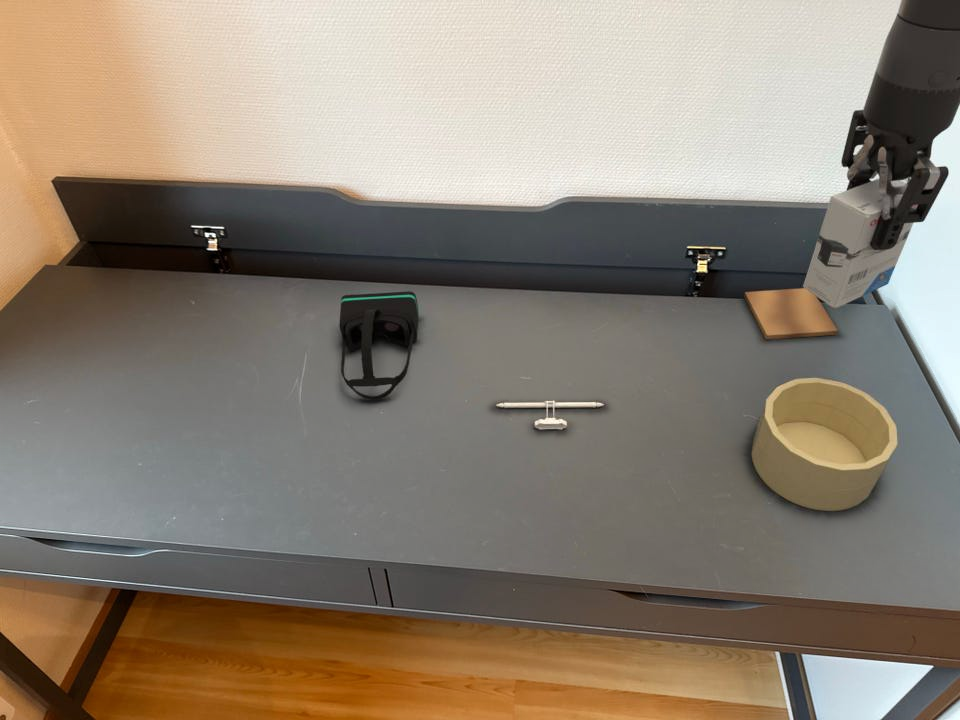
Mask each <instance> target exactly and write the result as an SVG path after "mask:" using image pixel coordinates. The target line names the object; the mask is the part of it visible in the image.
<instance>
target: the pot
mask: <svg viewBox="0 0 960 720" xmlns="http://www.w3.org/2000/svg"><path fill="white" fill-rule="evenodd" d="M761 411H762V412H761V415H760V417H759V421H758V424H757V427H756V430H755V433H754V436H753V440H752V447H751V459H752V463H753V466H754V468H755V471H756V472H757V474H758V476H759V478H760V479H761V480H762V481H763V482H764V484H766V485H767V487H768V488H769V489H771V490H772V491H773V492H775V493H776V494H777V495H778V496H779V497H782V498H784V499H785V500H787V501H789V502H791V503H793V504H796V505H798V506H801V507H803V508H807V509H811V510H816V511H822V512H823V511H824V512H836V511H837V512H838V511H844V510H848V509H852V508H854V507H856V506H858V505H859V504H862V503H863V502H864V501H865V500H866V499H868V498H869V496H870V494H871V493H872V491H873V489H874V488H875V486H876V485H877V483H878V481H879V479H880V477H881V476H882V474H883V472H884V471H885V468H886V466H887V465H888V463H889V461H890V459H891V458H892V455H893V453H894V452H895V450H896V448H897V447H898V444H899V443H898V431H897V425H896V423H895V422H894V420H893V418H892V416H891V415H890V414H889V412H888V410H887V409H886V408H885V407H884V406H883V405H882V404H881V403H879V402H878V401H877V400H875V399H874V398H873V397H872V396H870V395H869V394H868V393H867V392H864V391H863V390H860V389H858V388H856V387H854V386H852V385H850V384H847V383H845V382H842V381H837V380H831V379H827V378H822V377H808V378H807V377H806V378H794V379H793V380H790V381H787V382H785V383H783V384H780V385H779V386H777V387H776V388H775V389H774V390H773V391H772V392H771V393H770V395H769V396H768V397H767V398H766V399H765V403H764V406H763V409H762V410H761Z"/></svg>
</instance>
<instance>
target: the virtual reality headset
mask: <svg viewBox="0 0 960 720" xmlns="http://www.w3.org/2000/svg"><path fill="white" fill-rule="evenodd" d="M339 311H340V312H339V325H338V326H339V330H340V331H339V332H340V333H341V337H342V352H341V361H340V362H341V363H340V365H341V366H340V372H341V376H342V378H343V380H344V382H345V384H346V386H347V387H349V388H350V389H351V390H352V391H353V392H354V393H355V394H357V395H358V396H360V397H361V398H363V399H365V400H370V401H377V400H382V399H385V398H386V397H388V396H389V395H390V394H391V393H392V392H393V391H394V390H395V388H396V387H397V386H398V385H399V384H400V383H401V382H402V381H403V380H404V378H405V377H406V375H407V373H408V369H409V366H410V358H411V352H412V348H413V347H412V346H413V343H414V342H415V341H417V339H418V327H419V314H420V313H419V304H418V299H417V295H416V293H414V291H411V290H410V291H395V292H394V291H391V292H379V293H360V294H359V293H358V294H345V295H342V297H341V298H340V310H339ZM381 336H384V337H386V338H388V341H389V342H391V343H395V344H398V345H400V346H403V347H405V348H407V349H408V350H407V355H406V363H405V365H404V368H403V369H402V371H401V372H400V373H399V374H398V375H395V376H394V377H391V376H390V377H389V376H386V377H385V376H383V377H376V376H375V375H374V368H373V352H372V351H373V350H372V343H373V342H374V339H376V338H378V337H381ZM346 345H347V348H348V350H349V351H353V352H354V351H356V350H358V349H360V350H361V353H360V354H361V366H362V368H361V369H362V374H363V375H362V378H351V379H347V378H346V375H345V362H346V361H345V359H346ZM388 385H391V386H390V388H388V389H387V390H386V391H384V392H383V393H381V394H378V395H367V394H364V393H361V392H360V391H358V390H357V389H355V387H357V388H358V387H359V388H361V387H362V388H365V387H367V388H368V387H379V386H388Z"/></svg>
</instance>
